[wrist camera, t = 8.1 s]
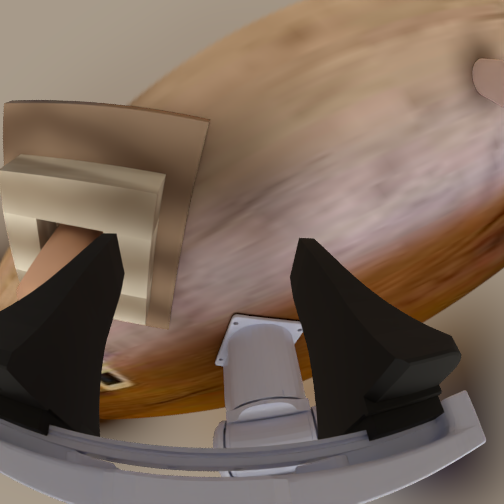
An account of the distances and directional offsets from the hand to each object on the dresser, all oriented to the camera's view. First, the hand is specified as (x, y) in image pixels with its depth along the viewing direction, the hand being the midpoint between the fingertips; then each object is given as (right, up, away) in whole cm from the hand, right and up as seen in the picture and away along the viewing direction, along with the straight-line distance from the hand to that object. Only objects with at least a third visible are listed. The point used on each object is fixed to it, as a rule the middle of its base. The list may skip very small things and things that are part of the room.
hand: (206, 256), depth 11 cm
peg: (-11, +2, +9) cm, 14 cm away
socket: (-11, +2, +10) cm, 15 cm away
